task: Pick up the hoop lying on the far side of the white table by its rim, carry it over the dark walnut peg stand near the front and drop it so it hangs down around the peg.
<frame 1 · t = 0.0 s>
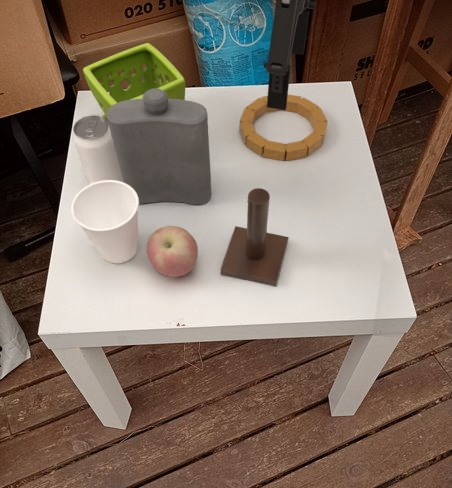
hand: (286, 78, 76), 19 cm above the table, tool pointing down, fingers open, 13 cm apart
flower pot: (144, 132, 98), on the table
apple: (175, 267, 81), on the table
peg stand: (255, 258, 81), on the table
flask: (169, 193, 89), on the table
hoop: (282, 130, 97), on the table
cup: (119, 250, 83), on the table
can: (107, 181, 91), on the table
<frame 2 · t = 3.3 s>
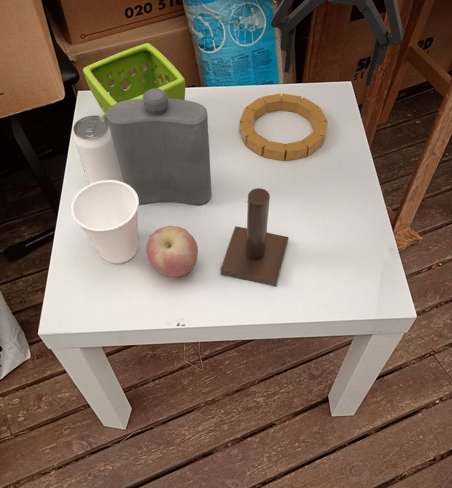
hand: (327, 74, 85), 13 cm above the table, tool pointing down, fingers open, 13 cm apart
nothing on the table moved.
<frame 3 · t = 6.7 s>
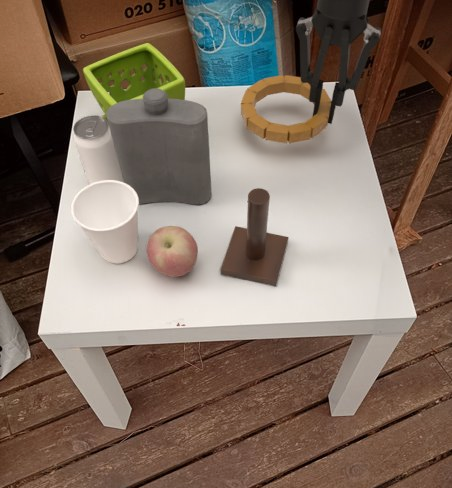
hand: (322, 117, 92), 5 cm above the table, tool pointing down, fingers closed on hoop, 2 cm apart
hoop: (285, 113, 93), point 4 cm above the table, touching gripper
everything else where it was.
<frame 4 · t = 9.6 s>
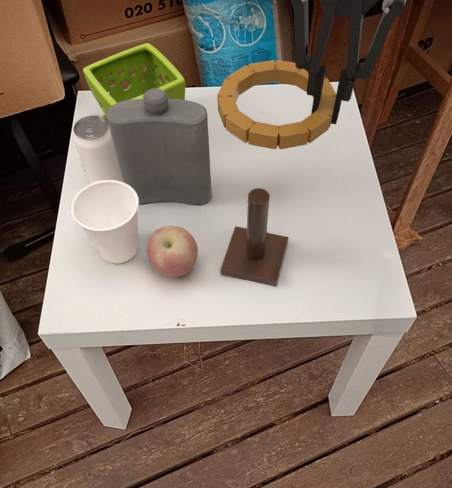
hand: (324, 115, 70), 19 cm above the table, tool pointing down, fingers closed on hoop, 2 cm apart
hoop: (275, 109, 72), point 19 cm above the table, touching gripper
everything else where it was.
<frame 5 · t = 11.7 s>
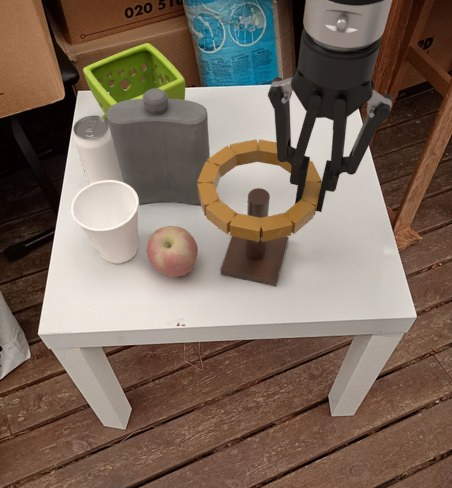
hand: (309, 201, 67), 15 cm above the table, tool pointing down, fingers closed on hoop, 2 cm apart
hoop: (258, 193, 69), point 15 cm above the table, touching gripper
everything else where it was.
when the fingers open (12 cm above the table, at t = 13.0 s): hoop drops 10 cm, resting on peg stand.
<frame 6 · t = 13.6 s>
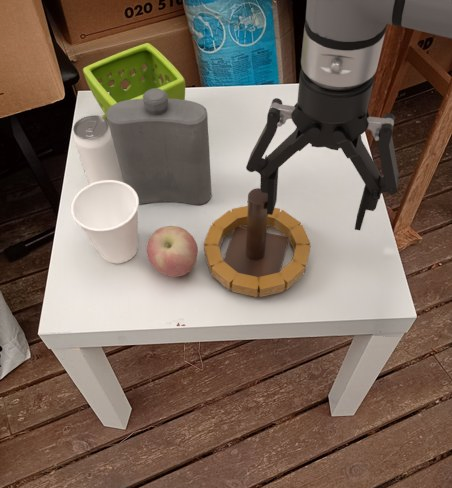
hand: (314, 214, 69), 13 cm above the table, tool pointing down, fingers open, 11 cm apart
hoop: (256, 252, 80), point 1 cm above the table, touching peg stand
everything else where it was.
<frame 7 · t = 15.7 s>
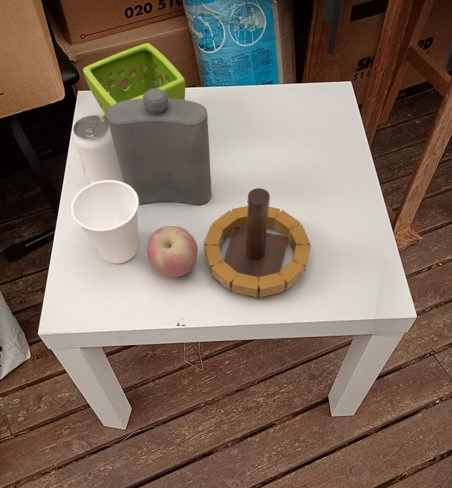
hand: (389, 54, 59), 30 cm above the table, tool pointing down, fingers open, 13 cm apart
nothing on the table moved.
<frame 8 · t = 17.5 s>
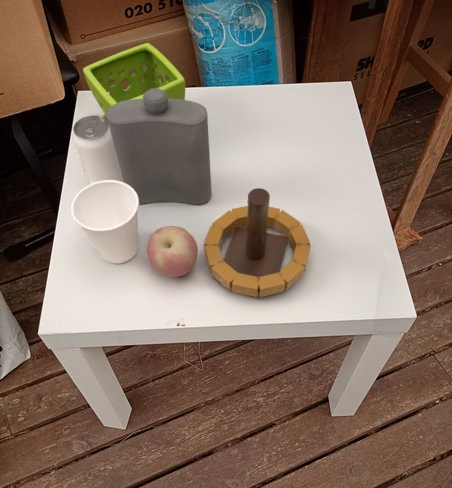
hand: (428, 10, 61), 32 cm above the table, tool pointing down, fingers open, 13 cm apart
nothing on the table moved.
at the end: hoop 0.2 cm from the peg stand (horizontally); hoop point 1.5 cm above the table; the gripper is holding nothing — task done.
